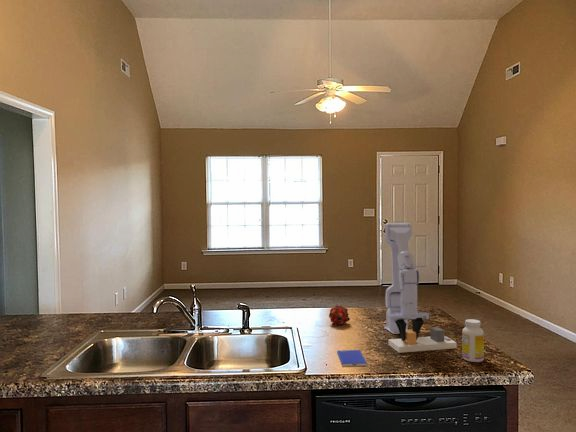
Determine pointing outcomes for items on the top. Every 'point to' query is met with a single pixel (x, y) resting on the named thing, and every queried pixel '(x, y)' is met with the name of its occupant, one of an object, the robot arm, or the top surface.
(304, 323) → the top surface
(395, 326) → the robot arm
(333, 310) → the dragon fruit
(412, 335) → the orange rectangular block
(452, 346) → the white insertion base
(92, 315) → the top surface
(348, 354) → the hard drive
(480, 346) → the supplement bottle
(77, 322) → the top surface
